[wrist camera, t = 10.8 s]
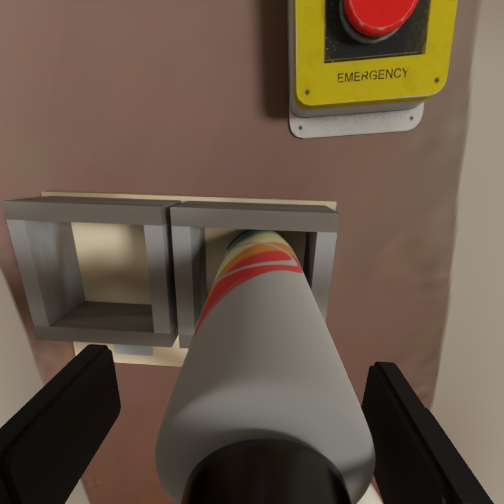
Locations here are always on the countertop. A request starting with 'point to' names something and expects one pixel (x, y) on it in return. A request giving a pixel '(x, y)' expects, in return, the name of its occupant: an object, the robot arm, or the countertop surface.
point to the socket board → (148, 262)
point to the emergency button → (365, 63)
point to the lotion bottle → (263, 393)
